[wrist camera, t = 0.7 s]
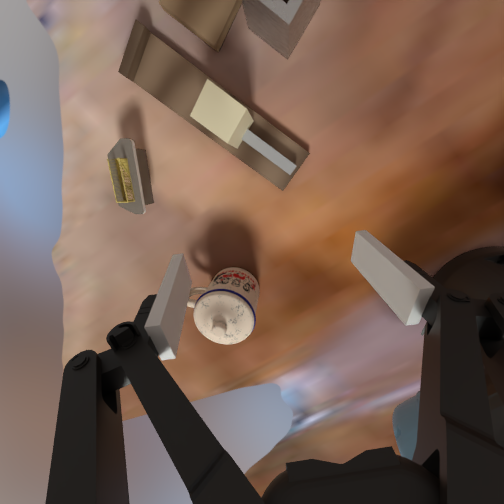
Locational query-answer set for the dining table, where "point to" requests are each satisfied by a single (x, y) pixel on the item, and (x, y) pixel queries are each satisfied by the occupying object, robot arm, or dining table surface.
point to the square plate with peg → (204, 17)
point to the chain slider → (232, 123)
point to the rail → (187, 93)
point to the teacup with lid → (226, 306)
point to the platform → (130, 176)
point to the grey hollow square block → (279, 21)
